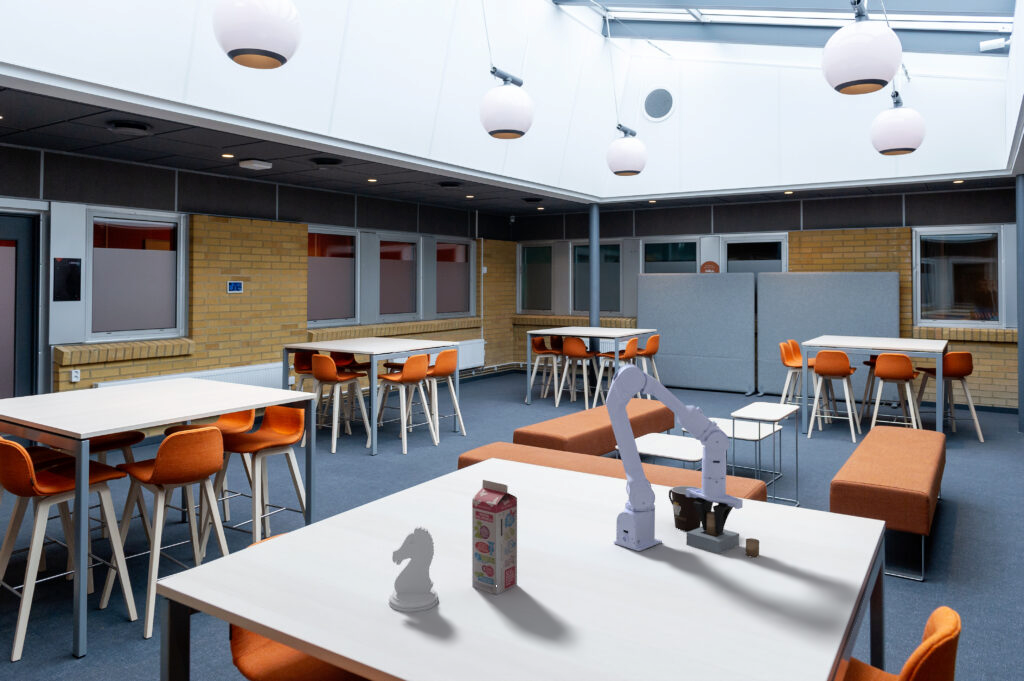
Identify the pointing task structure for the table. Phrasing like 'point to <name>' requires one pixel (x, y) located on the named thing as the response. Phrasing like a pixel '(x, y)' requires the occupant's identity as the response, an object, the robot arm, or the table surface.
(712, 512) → the long dowel
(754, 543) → the short dowel
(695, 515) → the coffee mug
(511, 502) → the juice carton
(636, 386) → the robot arm
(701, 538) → the hole block
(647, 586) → the table surface
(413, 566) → the chess piece
